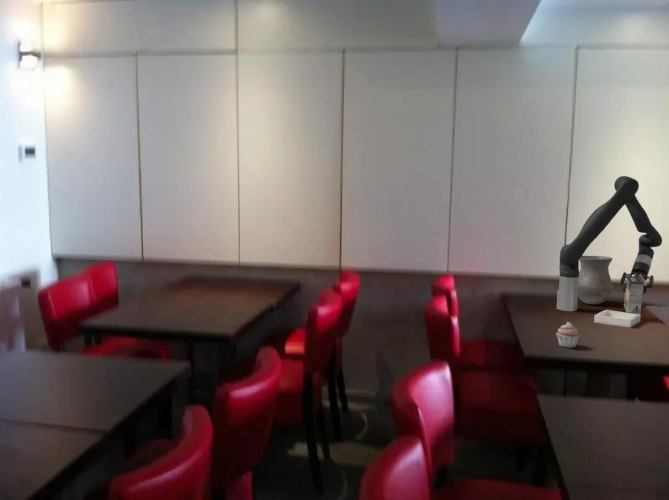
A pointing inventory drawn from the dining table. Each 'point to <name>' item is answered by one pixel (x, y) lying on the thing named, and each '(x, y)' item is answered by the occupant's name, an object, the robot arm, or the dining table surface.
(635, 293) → the coffee box
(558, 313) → the dining table surface
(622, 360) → the dining table surface
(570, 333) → the cupcake
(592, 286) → the vase
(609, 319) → the dish
